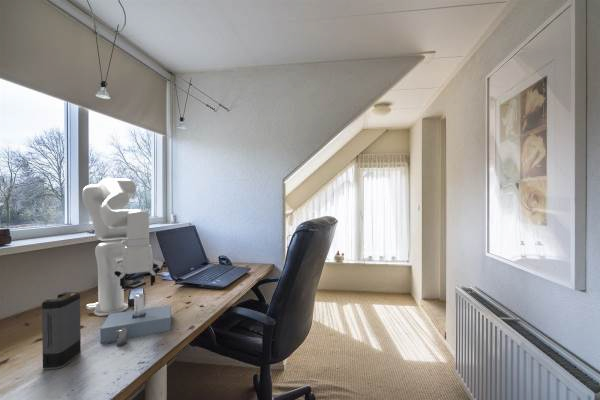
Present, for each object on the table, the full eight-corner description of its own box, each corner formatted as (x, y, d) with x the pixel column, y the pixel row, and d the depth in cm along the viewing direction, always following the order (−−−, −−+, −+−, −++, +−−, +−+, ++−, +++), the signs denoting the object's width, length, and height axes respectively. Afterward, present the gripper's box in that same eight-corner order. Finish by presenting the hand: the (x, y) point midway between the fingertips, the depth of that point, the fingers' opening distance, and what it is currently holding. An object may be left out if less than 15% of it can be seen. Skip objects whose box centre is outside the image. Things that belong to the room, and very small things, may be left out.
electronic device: (63, 353, 90) (63, 292, 90) (83, 352, 91) (82, 291, 91) (39, 370, 81) (38, 302, 81) (61, 369, 81) (60, 301, 81)
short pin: (115, 347, 93) (115, 332, 93) (117, 343, 96) (117, 328, 96) (126, 345, 94) (126, 330, 94) (128, 341, 97) (127, 327, 97)
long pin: (133, 331, 105) (133, 296, 105) (135, 327, 108) (134, 294, 108) (143, 329, 106) (143, 295, 106) (144, 325, 109) (144, 293, 109)
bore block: (100, 343, 96) (100, 328, 96) (109, 326, 109) (109, 313, 109) (170, 330, 105) (169, 317, 105) (171, 316, 118) (170, 304, 118)
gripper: (109, 245, 100) (109, 292, 101) (162, 242, 107) (162, 286, 107) (113, 242, 107) (113, 286, 107) (163, 239, 114) (163, 280, 114)
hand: (138, 286), depth 107 cm, fingers open, 9 cm apart
